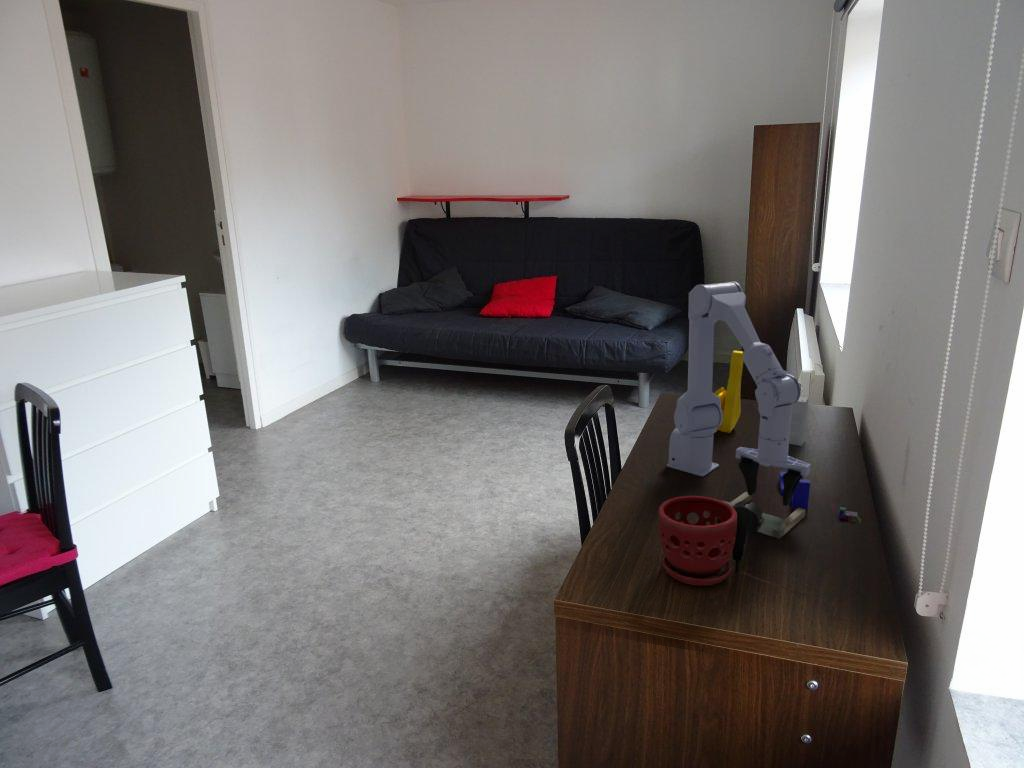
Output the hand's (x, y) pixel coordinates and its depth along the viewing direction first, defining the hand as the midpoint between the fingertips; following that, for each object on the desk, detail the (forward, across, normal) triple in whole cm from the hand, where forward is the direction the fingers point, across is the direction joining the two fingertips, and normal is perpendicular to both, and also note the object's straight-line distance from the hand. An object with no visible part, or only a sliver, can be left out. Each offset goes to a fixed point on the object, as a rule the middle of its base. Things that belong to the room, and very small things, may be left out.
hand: (768, 498), depth 145 cm
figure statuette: (+3, -29, +38) cm, 48 cm away
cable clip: (+3, +1, +11) cm, 11 cm away
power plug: (+3, +6, -23) cm, 23 cm away
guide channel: (+3, 0, -3) cm, 4 cm away
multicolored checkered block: (+4, +13, +8) cm, 16 cm away
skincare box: (+3, -12, +40) cm, 42 cm away
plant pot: (+3, 0, -30) cm, 30 cm away
